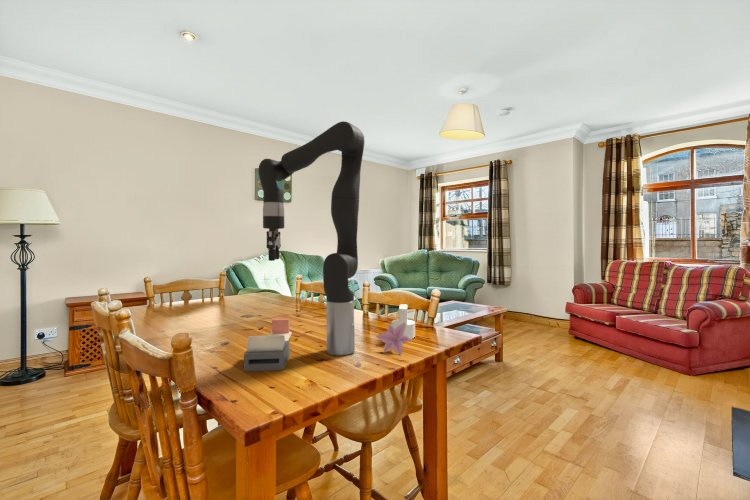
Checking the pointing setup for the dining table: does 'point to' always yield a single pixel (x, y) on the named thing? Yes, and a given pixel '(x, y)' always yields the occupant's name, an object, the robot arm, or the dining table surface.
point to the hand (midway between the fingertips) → (274, 259)
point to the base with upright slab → (410, 324)
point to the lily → (394, 338)
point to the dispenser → (266, 353)
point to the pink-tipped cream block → (281, 328)
